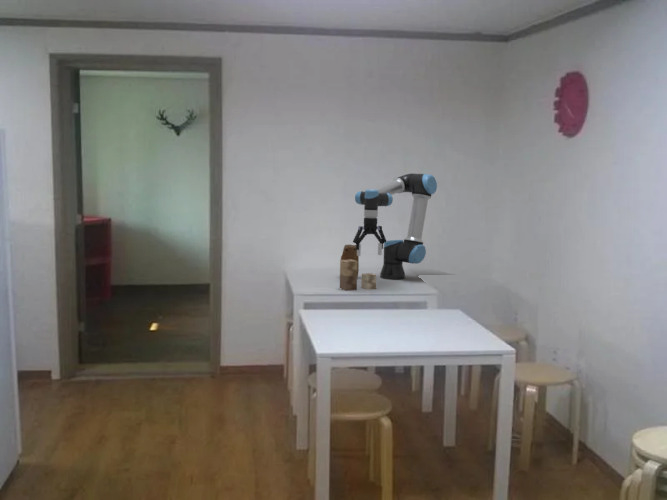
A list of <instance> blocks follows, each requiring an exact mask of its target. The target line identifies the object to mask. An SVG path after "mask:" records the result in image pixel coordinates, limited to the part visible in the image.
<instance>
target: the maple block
mask: <svg viewBox="0 0 667 500" xmlns="http://www.w3.org/2000/svg"><path fill="white" fill-rule="evenodd" d="M360 287H361V289H364V290H376V289H377V274H376V273H375V274H374V273H373V272H372V273H371V272H369V273H361V286H360Z"/></svg>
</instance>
